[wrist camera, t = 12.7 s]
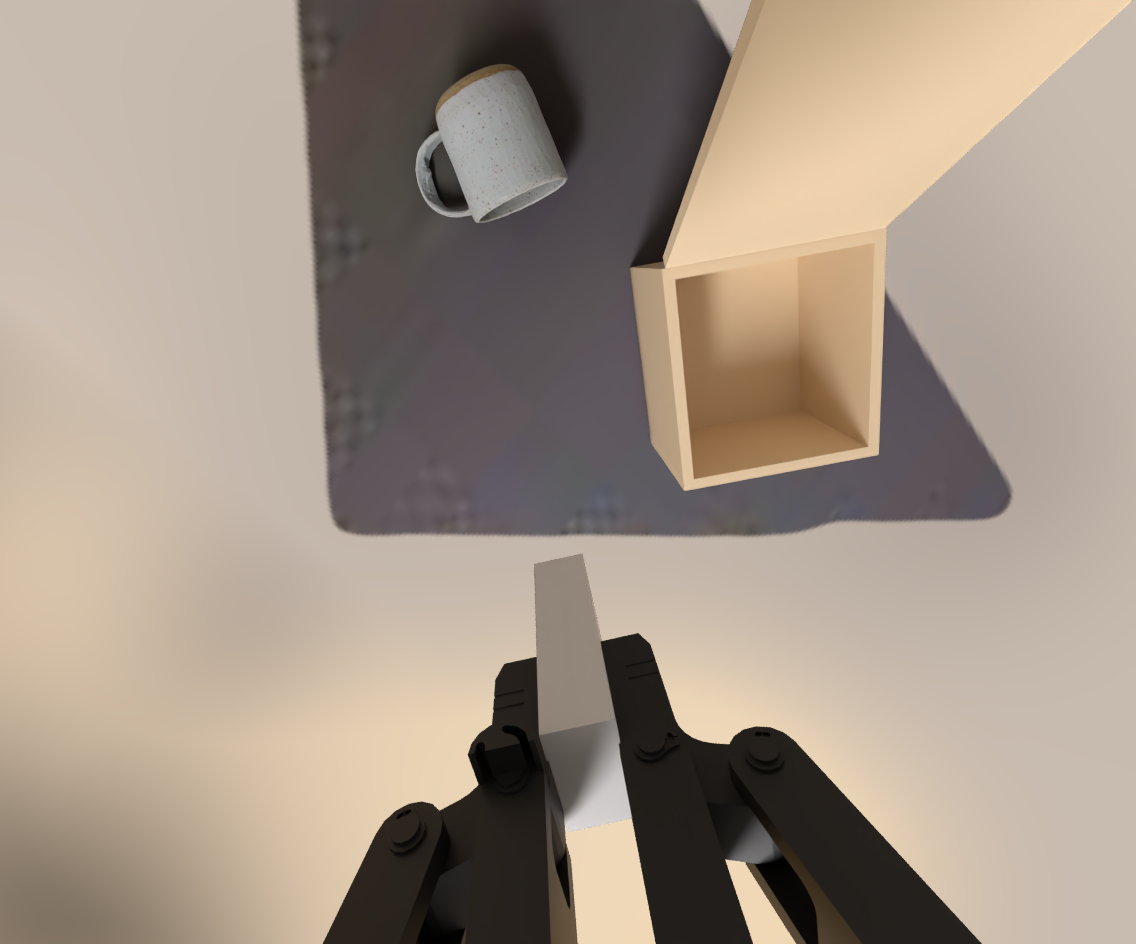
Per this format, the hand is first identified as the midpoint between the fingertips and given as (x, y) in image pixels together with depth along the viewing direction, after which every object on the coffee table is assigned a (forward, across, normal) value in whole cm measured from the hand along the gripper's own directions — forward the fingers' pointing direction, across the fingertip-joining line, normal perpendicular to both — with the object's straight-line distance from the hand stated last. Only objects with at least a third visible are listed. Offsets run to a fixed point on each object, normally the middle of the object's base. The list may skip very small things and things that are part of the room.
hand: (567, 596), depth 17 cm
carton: (+35, +17, 0) cm, 39 cm away
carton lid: (+14, +17, +12) cm, 25 cm away
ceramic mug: (+35, 0, +17) cm, 39 cm away
